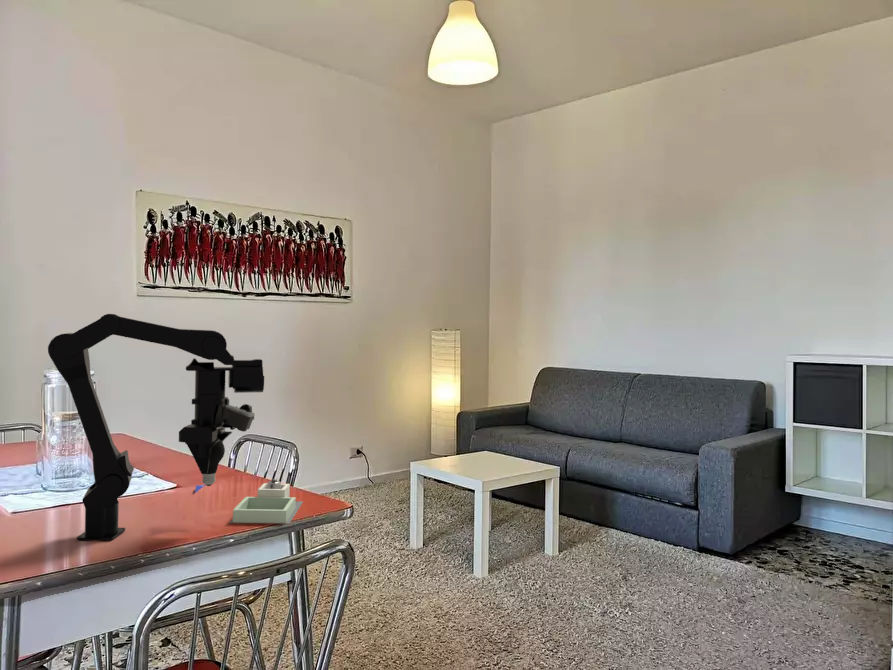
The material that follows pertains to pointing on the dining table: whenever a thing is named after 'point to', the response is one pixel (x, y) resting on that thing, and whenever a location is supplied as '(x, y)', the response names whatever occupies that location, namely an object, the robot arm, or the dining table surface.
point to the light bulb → (214, 463)
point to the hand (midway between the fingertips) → (208, 470)
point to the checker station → (267, 507)
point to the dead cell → (274, 484)
